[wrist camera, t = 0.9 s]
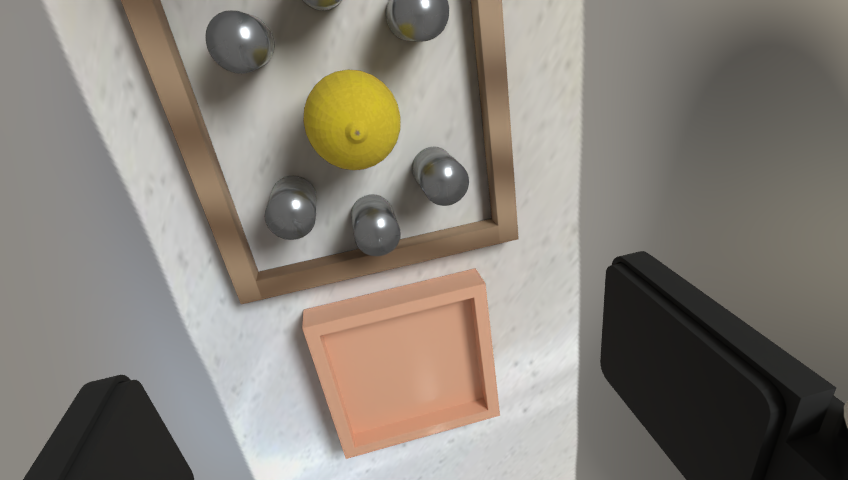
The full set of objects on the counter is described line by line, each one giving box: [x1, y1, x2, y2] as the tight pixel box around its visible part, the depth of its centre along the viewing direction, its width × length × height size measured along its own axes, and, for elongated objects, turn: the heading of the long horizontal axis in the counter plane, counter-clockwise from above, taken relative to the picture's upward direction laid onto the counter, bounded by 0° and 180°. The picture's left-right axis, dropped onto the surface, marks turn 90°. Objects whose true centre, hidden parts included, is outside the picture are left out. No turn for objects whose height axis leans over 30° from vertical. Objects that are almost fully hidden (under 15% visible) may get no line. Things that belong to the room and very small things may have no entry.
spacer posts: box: [206, 0, 469, 256], centre depth 28 cm, size 18×13×4 cm
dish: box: [302, 268, 500, 459], centre depth 38 cm, size 14×14×2 cm
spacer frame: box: [121, 0, 518, 304], centre depth 29 cm, size 23×21×2 cm
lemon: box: [304, 70, 400, 170], centre depth 26 cm, size 6×6×8 cm
